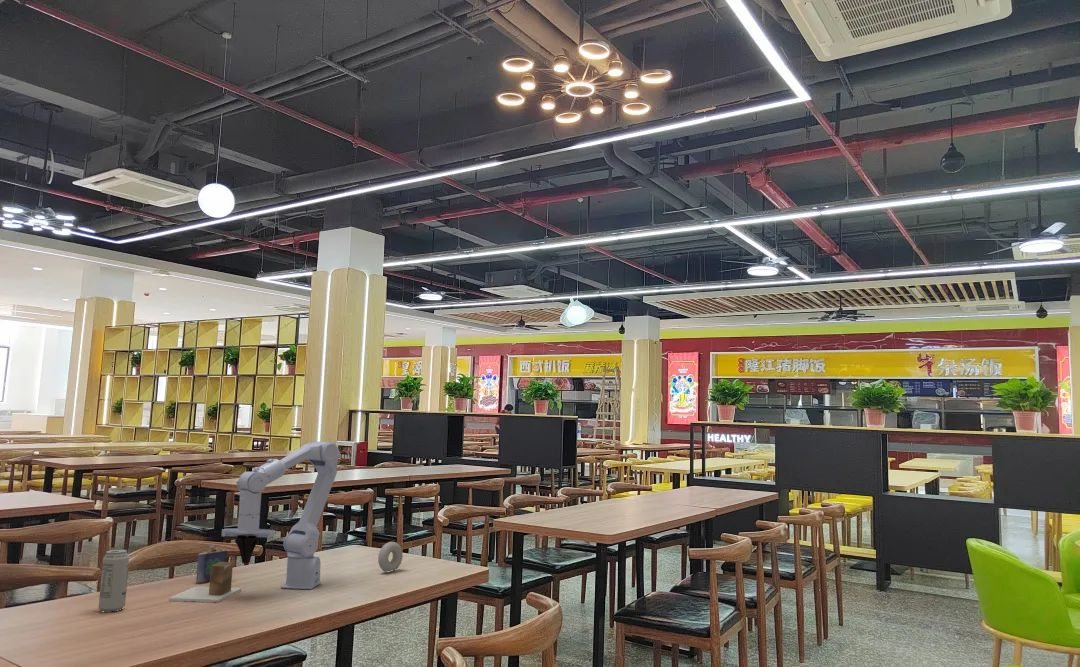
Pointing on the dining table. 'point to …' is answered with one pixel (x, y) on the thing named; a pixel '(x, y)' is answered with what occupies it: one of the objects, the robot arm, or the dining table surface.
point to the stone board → (202, 595)
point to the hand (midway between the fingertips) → (245, 562)
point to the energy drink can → (114, 580)
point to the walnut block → (220, 578)
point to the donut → (384, 555)
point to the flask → (208, 563)
